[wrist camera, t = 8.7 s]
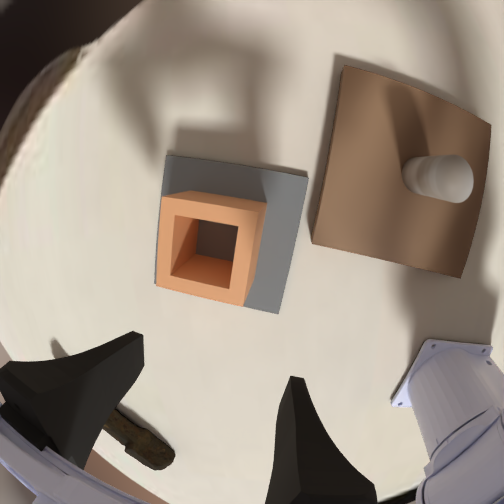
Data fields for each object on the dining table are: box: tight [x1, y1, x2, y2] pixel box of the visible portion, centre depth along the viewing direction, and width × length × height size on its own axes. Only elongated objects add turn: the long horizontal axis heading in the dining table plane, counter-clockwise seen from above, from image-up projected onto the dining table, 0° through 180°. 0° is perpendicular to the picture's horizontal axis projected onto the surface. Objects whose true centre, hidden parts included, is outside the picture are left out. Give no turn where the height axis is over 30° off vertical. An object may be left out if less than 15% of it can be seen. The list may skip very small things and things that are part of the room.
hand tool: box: [102, 409, 175, 470], centre depth 27 cm, size 19×4×5 cm, turn 47°
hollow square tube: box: [156, 190, 267, 307], centre depth 17 cm, size 5×5×4 cm
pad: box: [154, 155, 309, 314], centre depth 20 cm, size 10×10×1 cm
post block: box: [311, 65, 491, 278], centre depth 14 cm, size 12×12×6 cm
